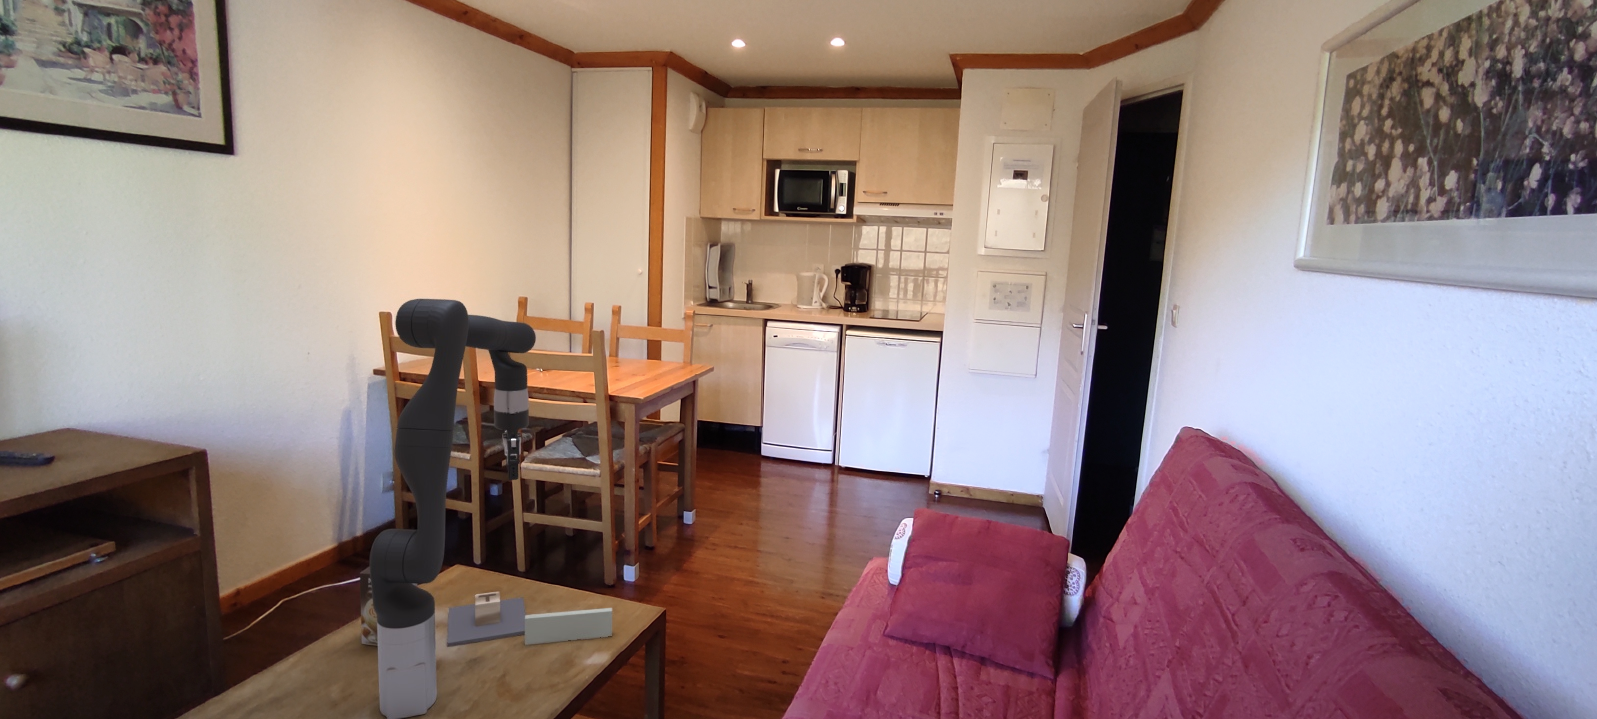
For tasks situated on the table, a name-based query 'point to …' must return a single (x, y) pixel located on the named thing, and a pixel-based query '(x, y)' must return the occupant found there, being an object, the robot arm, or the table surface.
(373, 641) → the coffee box
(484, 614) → the letter cube
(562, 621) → the screen
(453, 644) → the mat
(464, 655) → the table surface
